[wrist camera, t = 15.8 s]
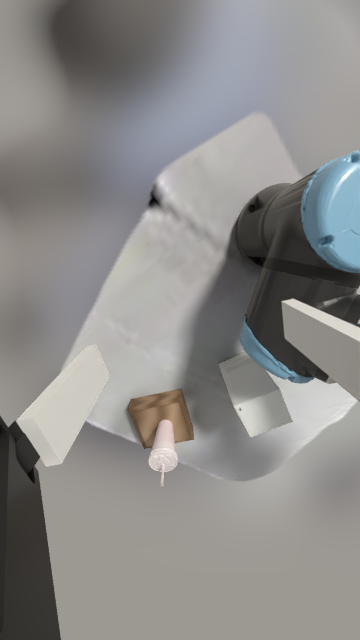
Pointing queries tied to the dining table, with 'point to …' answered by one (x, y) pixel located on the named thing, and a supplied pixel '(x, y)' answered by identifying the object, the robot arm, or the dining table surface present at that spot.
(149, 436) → the walnut tray
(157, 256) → the dining table surface
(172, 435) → the smoothie
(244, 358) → the supplement box
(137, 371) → the dining table surface
